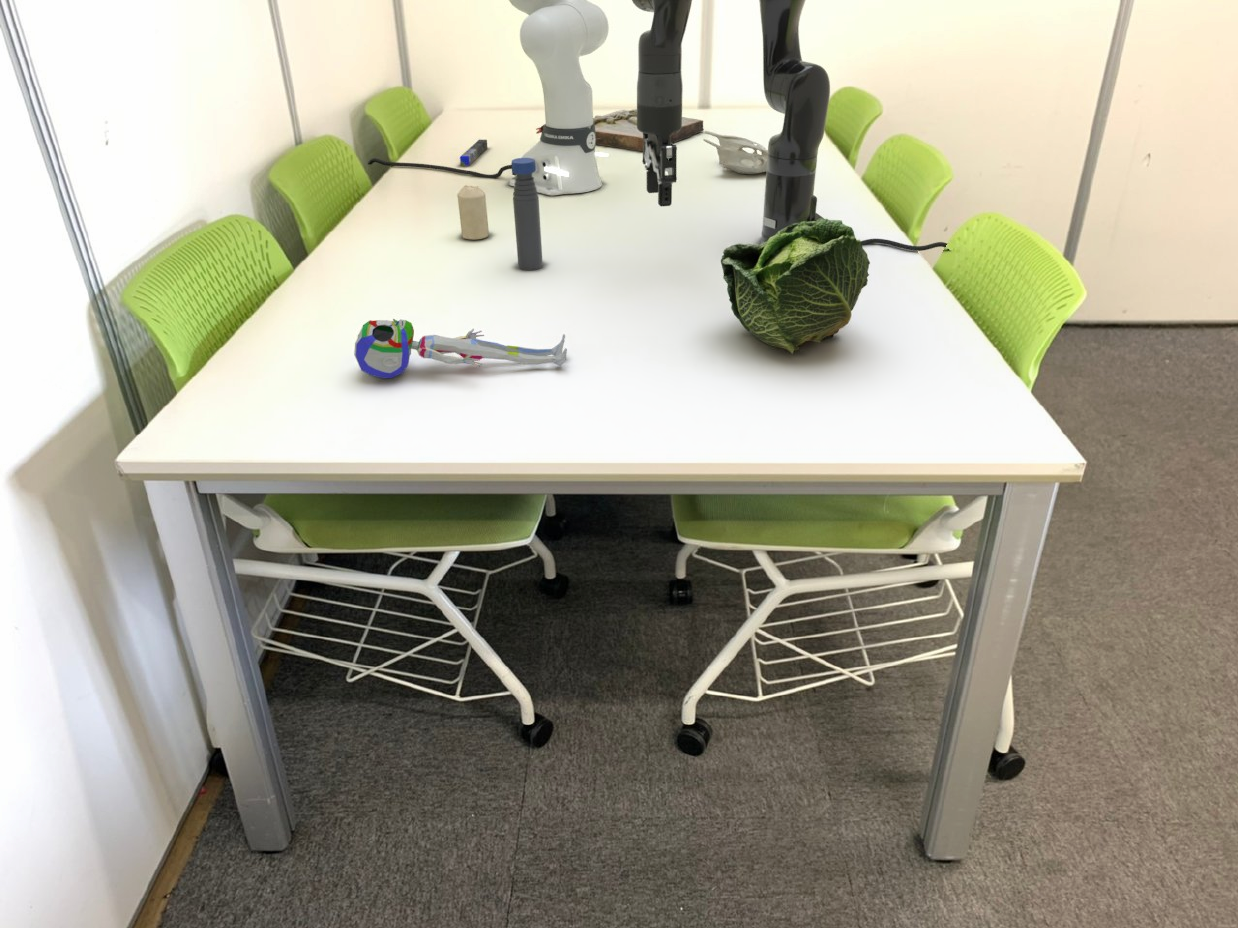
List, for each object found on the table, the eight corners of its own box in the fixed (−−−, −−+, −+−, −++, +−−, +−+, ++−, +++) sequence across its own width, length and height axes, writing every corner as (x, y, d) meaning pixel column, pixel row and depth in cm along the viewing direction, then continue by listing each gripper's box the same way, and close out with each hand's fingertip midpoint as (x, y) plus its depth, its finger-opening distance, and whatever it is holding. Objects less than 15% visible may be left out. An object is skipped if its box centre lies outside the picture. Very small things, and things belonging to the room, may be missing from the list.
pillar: (486, 139, 247) (467, 157, 231) (487, 147, 249) (468, 166, 232) (479, 139, 248) (459, 157, 231) (479, 147, 249) (460, 166, 232)
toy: (569, 347, 126) (349, 329, 122) (563, 400, 131) (350, 385, 126) (565, 318, 135) (359, 301, 130) (559, 369, 139) (360, 354, 134)
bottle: (513, 266, 168) (504, 163, 158) (530, 260, 171) (523, 158, 161) (530, 272, 166) (523, 167, 156) (547, 265, 169) (541, 162, 159)
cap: (507, 172, 159) (506, 161, 158) (524, 167, 162) (523, 156, 161) (523, 175, 157) (522, 164, 156) (540, 170, 159) (540, 160, 158)
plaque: (647, 125, 237) (559, 112, 252) (647, 153, 241) (560, 139, 256) (706, 107, 258) (622, 97, 273) (705, 133, 262) (622, 121, 277)
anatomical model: (705, 127, 227) (805, 126, 223) (705, 164, 232) (803, 164, 228) (701, 141, 214) (807, 140, 211) (701, 180, 219) (804, 180, 216)
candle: (493, 232, 185) (489, 183, 180) (481, 241, 181) (476, 191, 175) (469, 230, 187) (464, 181, 181) (457, 238, 182) (451, 189, 177)
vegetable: (752, 365, 147) (694, 260, 139) (847, 299, 148) (795, 192, 140) (808, 391, 128) (745, 272, 121) (916, 316, 130) (860, 193, 122)
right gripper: (693, 107, 143) (690, 209, 151) (670, 91, 154) (669, 186, 163) (647, 110, 141) (647, 212, 150) (628, 94, 153) (629, 189, 162)
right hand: (658, 199), depth 156 cm, fingers open, 8 cm apart
